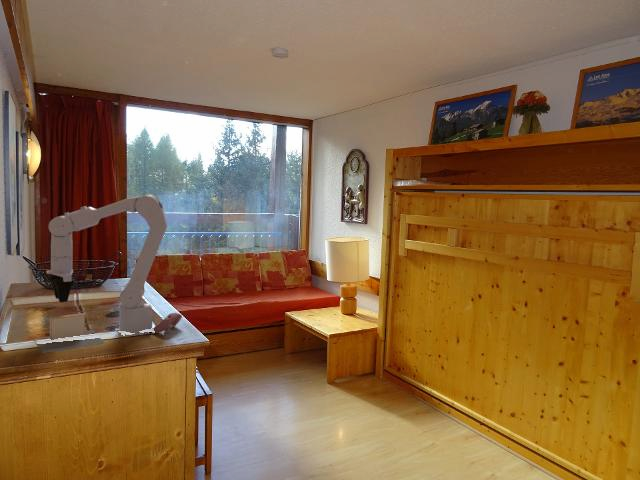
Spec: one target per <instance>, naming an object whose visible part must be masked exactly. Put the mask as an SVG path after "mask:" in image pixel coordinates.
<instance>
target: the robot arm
mask: <svg viewBox="0 0 640 480" xmlns="http://www.w3.org/2000/svg"><path fill="white" fill-rule="evenodd" d="M124 212H129V213H133V214H135V213H138V215H140V216H141V217H142V218H143V219H144V220H145V221H146V224H147V225H148V227H149V230H148V233H147V235H146V238H145V241H144V242H143V243H144V244H143V245H142V248H141V251H140V253H139V256H138V259H137V261H136V264H135V266H134V269H133V271H132V273H131V277H130V278H129V280H128V282H127V283H126V285H125V286H124V287H123V289H122V290H121V291H120V294H119V302H120V303H119V323H118V325H119V326H118V327H117V328H114V330H115V332H117V330H119V331H126V332H130V333H135V334H133V335H125V336H122V337H123V338H124V337H131V336H136V335H146V334H148V335H149V333H148V332H144V333H140V332H139V331H142V330H145V329H151V328H152V329H153V316H154V315H153V313H154V312H153V307H152V305H151V303H147V302H146V303H145V301H144V300H143V299H142V298H143V296H144V294H145V284H146V282H147V279H148V275H149V272H150V271H151V268H152V266H153V263H154V261H155V258H156V256H157V253H158V250H159V248H160V245H161V243H162V240H163V238H164V236H165V233H166V231H167V227H168V223H167V220H166V216H165V211H164V207H163V204H162V203H161V201H160V200H159V198H158V197H157V196H156V195H154V194H150V193H148V194H145V195H142V196H141V195H138V196H133V197H127V198H125V199H122V200H119V201H116V202H114V203H110V204H108V205H105V206H102V207H99V208H94V207H92V206H87V205H85V206H81V207H80V209H78V210H75V211H72V212H69V211H67V212H64V215H60V216H56V217H54V218H52V219H51V220H50V221H49V223H48V230H49V232H50V233H51V234H50V236H51V237H50V270H49V269H48V270H46V271H45V272H46V274H47V275H48V279H49V280H50V282H51V284H52V289H53V293H54V297H55V299H58V301H59V303H67V302H68V301H69V297H70V294H71V290H72V288H73V286H74V284H75V282H76V279H75V278H73V277H72V275H73V273H74V269H73V256H74V254H73V252H74V249H73V245H74V242H73V232H79V231H81V230H85V229H87V228H90V227H94V226H97V225H98V224H99V222H100V220H101V219H104V218H107V217H111V216H114V215H117V214H120V213H124Z"/></svg>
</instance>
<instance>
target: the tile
mask: <svg viewBox="0 0 640 480" xmlns="http://www.w3.org/2000/svg"><path fill="white" fill-rule="evenodd" d="M85 331H86V314H85V313H84V312H83V313H72V314H65V315H57V316H49V336H50V339H51V340H54V339H58V338H65V337H73V336H80V335H85Z"/></svg>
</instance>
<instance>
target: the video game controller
mask: <svg viewBox="0 0 640 480" xmlns="http://www.w3.org/2000/svg"><path fill="white" fill-rule="evenodd" d="M182 318H183V316H182V315H181V314H180V313H178V312H173V313H169V314H167V316H166V317H165V318H163V319H162V320H161V321H160V322H159V323H158V324H156V325H155V326H154V327H152V330H153V329H154V331H155V333H154V334H161V333H162V332H166V333H168V332H169V331H170V329H171V330H173V329H174V328H176V326H177V325H178V324H179V322H180V321H181V319H182Z"/></svg>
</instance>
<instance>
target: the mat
mask: <svg viewBox="0 0 640 480" xmlns="http://www.w3.org/2000/svg"><path fill="white" fill-rule="evenodd" d="M89 333H96V332H95V331H94V330H93V329H91V330H85V334H89ZM43 338H50V335H49V336H42V337H33V340H34V339H43ZM102 344H103V345H104V344H106V342H105V341H104V340H103V339H102V338H101V337H100V338H95V339H85V340H73V341H63V342H52V343H46V344H36V345H37V347H38V349H39V350H40V352H41V353H42V354H47V353H53V352H59V351H60V352H61V351H65V350H66V351H67V350H72V349H79V348H83V347H91V346H96V345H102Z"/></svg>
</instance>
